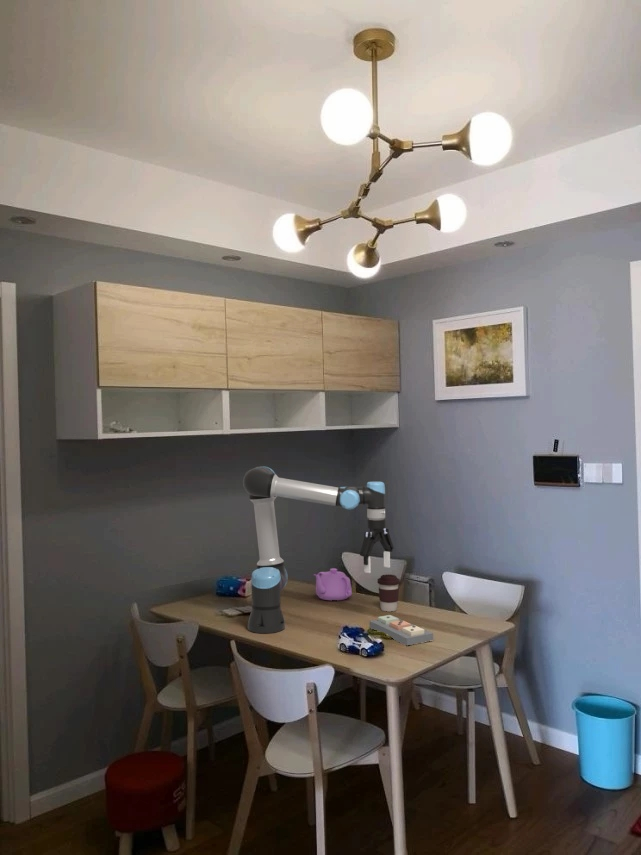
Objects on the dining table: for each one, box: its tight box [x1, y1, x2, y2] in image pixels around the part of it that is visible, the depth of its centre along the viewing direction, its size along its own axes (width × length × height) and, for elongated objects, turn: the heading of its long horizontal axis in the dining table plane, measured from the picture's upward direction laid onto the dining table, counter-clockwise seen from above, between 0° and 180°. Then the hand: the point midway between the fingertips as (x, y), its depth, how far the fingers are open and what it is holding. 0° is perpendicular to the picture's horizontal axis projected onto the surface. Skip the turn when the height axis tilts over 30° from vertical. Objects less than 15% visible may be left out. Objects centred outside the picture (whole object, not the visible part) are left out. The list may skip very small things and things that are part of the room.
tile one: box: [377, 614, 400, 625], centre depth 274 cm, size 6×6×3 cm
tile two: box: [402, 625, 425, 636], centre depth 259 cm, size 6×6×3 cm
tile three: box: [390, 619, 412, 630], centre depth 266 cm, size 6×6×3 cm
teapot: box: [313, 567, 353, 601], centre depth 322 cm, size 22×22×14 cm
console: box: [368, 618, 434, 646], centre depth 266 cm, size 12×26×3 cm, turn 28°
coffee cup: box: [376, 574, 401, 613], centre depth 302 cm, size 10×10×15 cm
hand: (377, 569), depth 285 cm, fingers open, 13 cm apart
